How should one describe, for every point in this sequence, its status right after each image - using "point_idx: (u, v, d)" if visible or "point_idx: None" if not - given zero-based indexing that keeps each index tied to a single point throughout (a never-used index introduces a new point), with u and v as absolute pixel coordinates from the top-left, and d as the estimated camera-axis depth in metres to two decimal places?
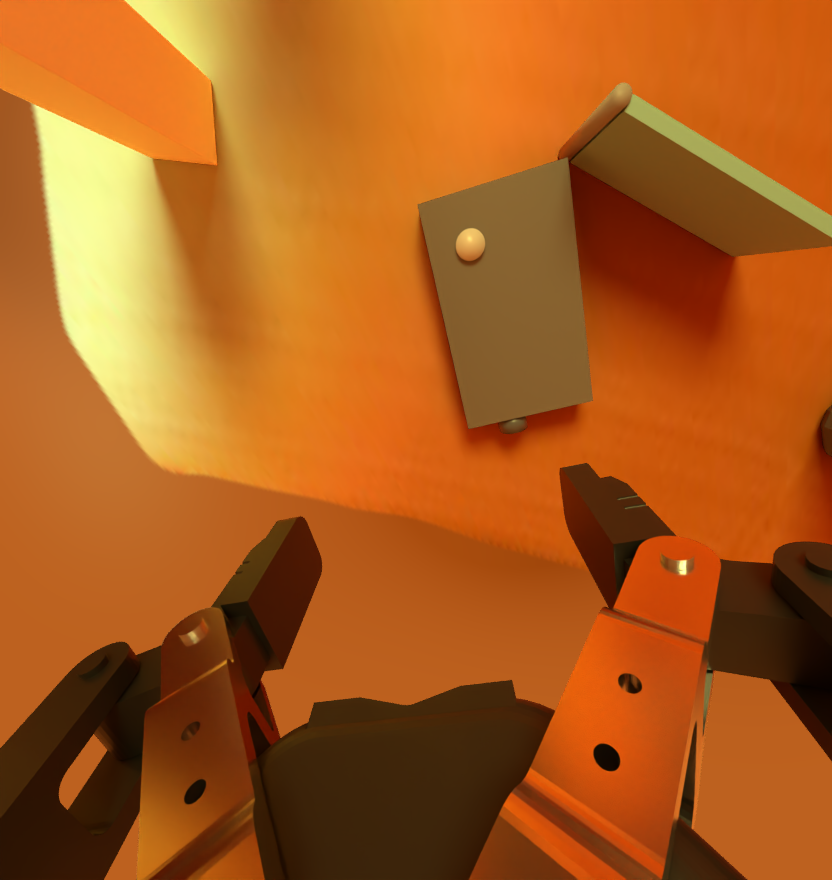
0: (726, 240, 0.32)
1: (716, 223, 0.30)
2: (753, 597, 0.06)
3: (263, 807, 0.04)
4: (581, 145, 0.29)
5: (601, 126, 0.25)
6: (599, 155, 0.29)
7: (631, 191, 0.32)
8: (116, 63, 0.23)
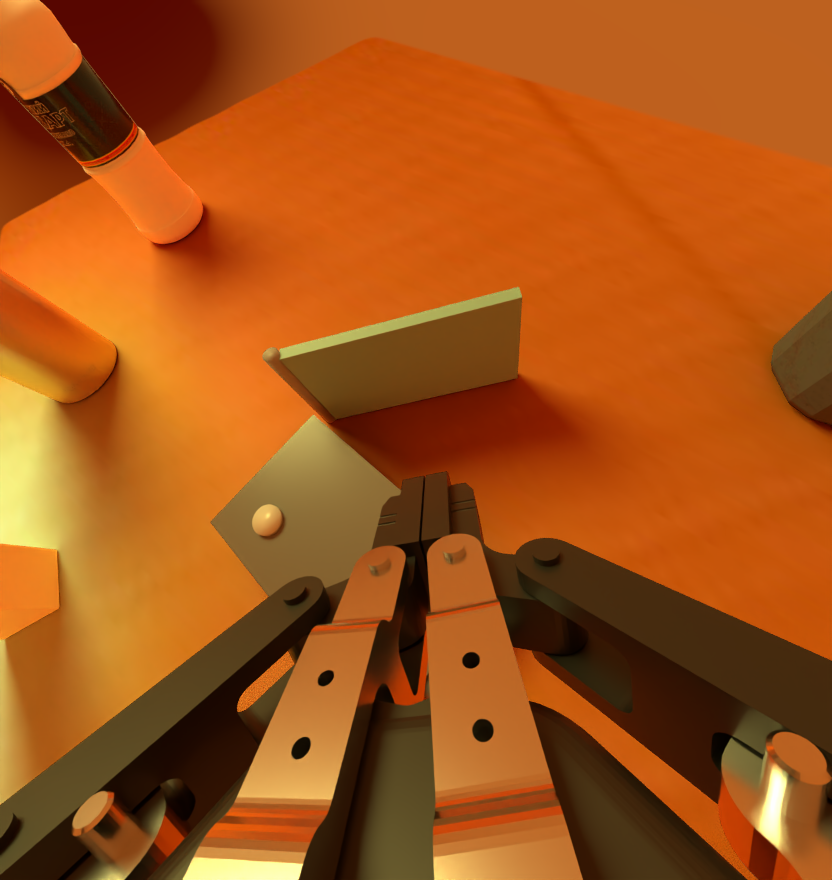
0: (487, 371, 0.32)
1: (457, 367, 0.31)
2: (501, 582, 0.08)
3: (338, 819, 0.04)
4: (314, 402, 0.33)
5: (293, 379, 0.29)
6: (332, 397, 0.32)
7: (389, 400, 0.34)
8: None
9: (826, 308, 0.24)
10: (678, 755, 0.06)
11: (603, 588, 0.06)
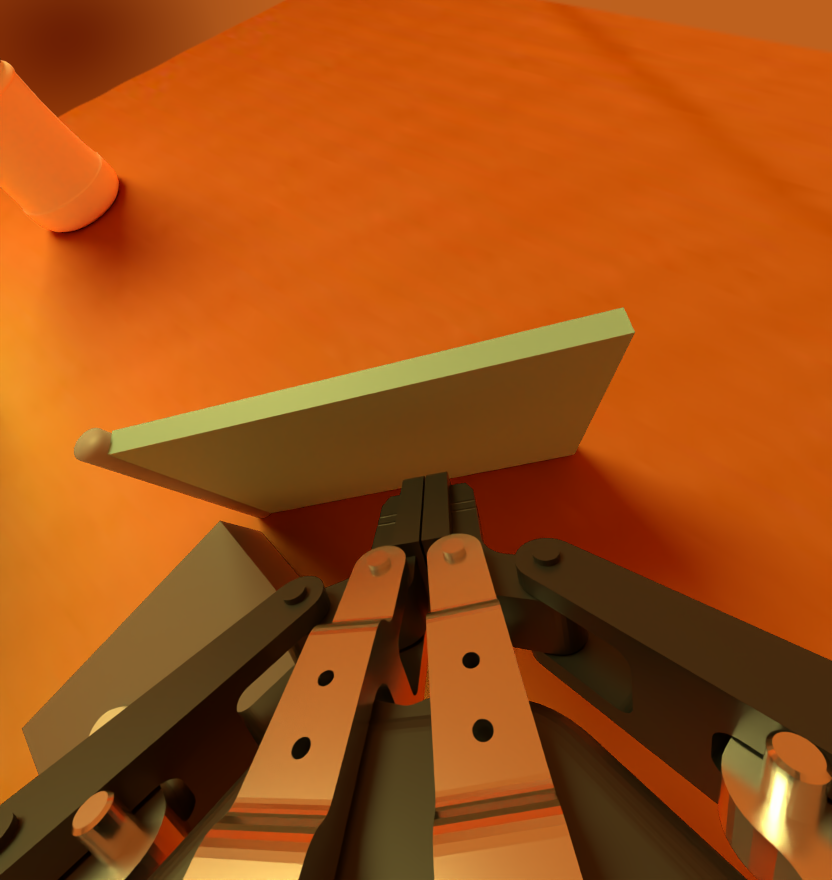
0: (526, 449, 0.18)
1: (473, 447, 0.17)
2: (501, 582, 0.08)
3: (338, 819, 0.04)
4: (220, 500, 0.18)
5: (159, 479, 0.15)
6: (252, 493, 0.18)
7: (355, 490, 0.20)
8: None
9: None
10: (678, 755, 0.06)
11: (603, 588, 0.06)
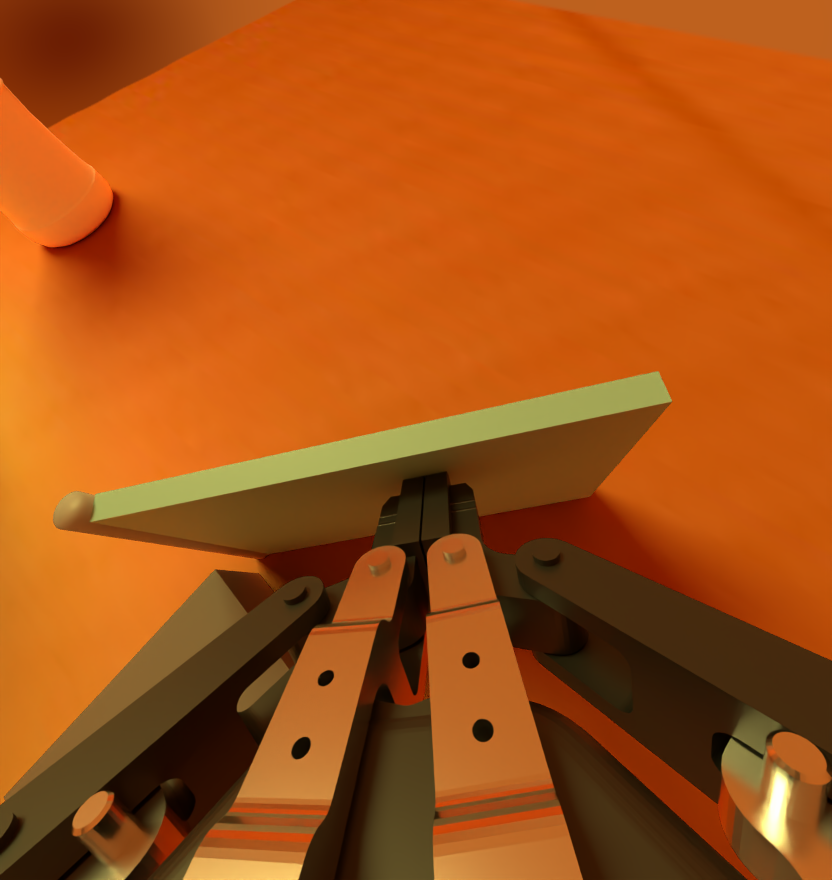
0: (540, 495, 0.17)
1: (484, 497, 0.16)
2: (501, 582, 0.08)
3: (339, 819, 0.04)
4: (215, 548, 0.17)
5: (148, 537, 0.14)
6: (249, 541, 0.17)
7: (358, 533, 0.19)
8: None
9: None
10: (678, 755, 0.06)
11: (603, 588, 0.06)
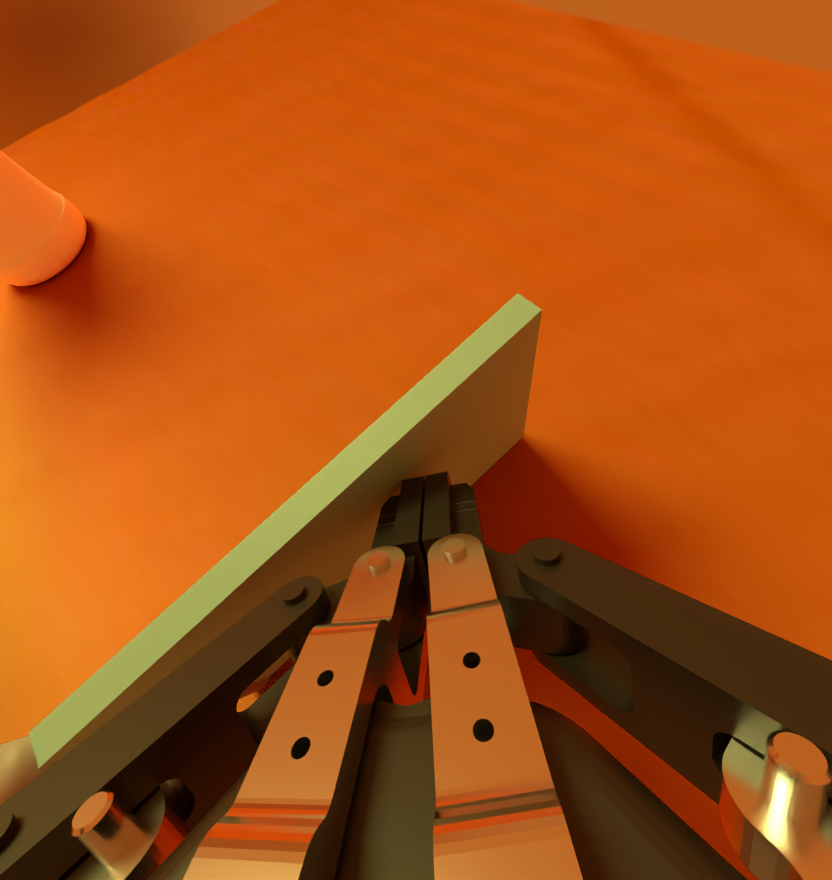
0: (486, 457, 0.18)
1: None
2: (501, 582, 0.08)
3: (338, 819, 0.04)
4: None
5: None
6: None
7: None
8: None
9: None
10: (679, 755, 0.06)
11: (604, 588, 0.06)
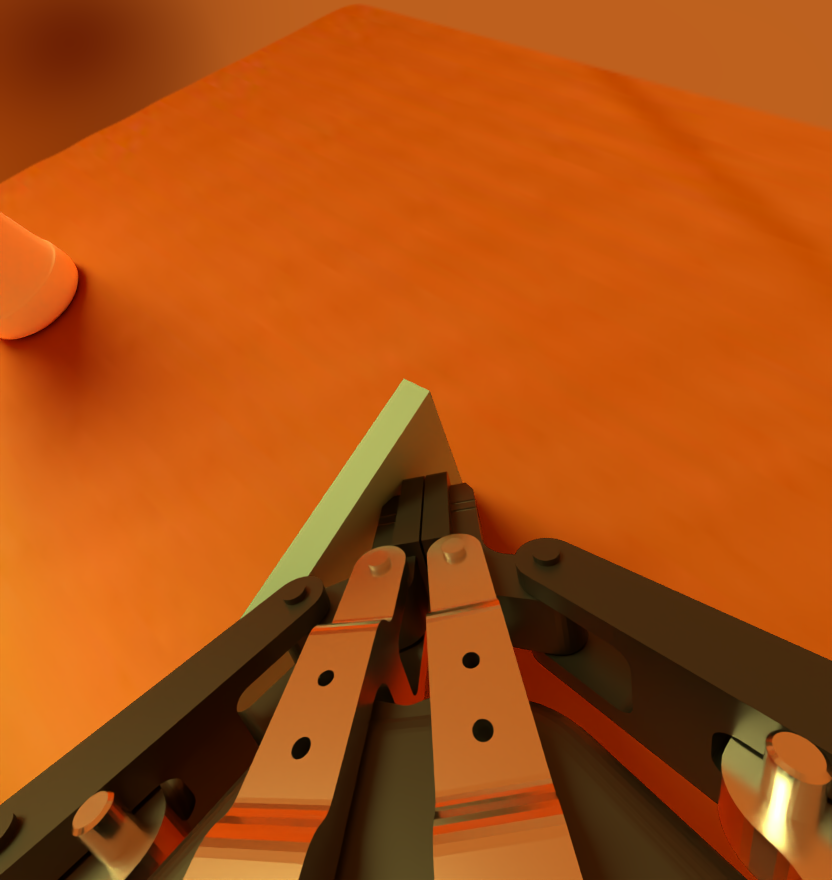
0: None
1: None
2: (501, 582, 0.08)
3: (339, 819, 0.04)
4: None
5: None
6: None
7: None
8: None
9: None
10: (678, 755, 0.06)
11: (603, 588, 0.06)
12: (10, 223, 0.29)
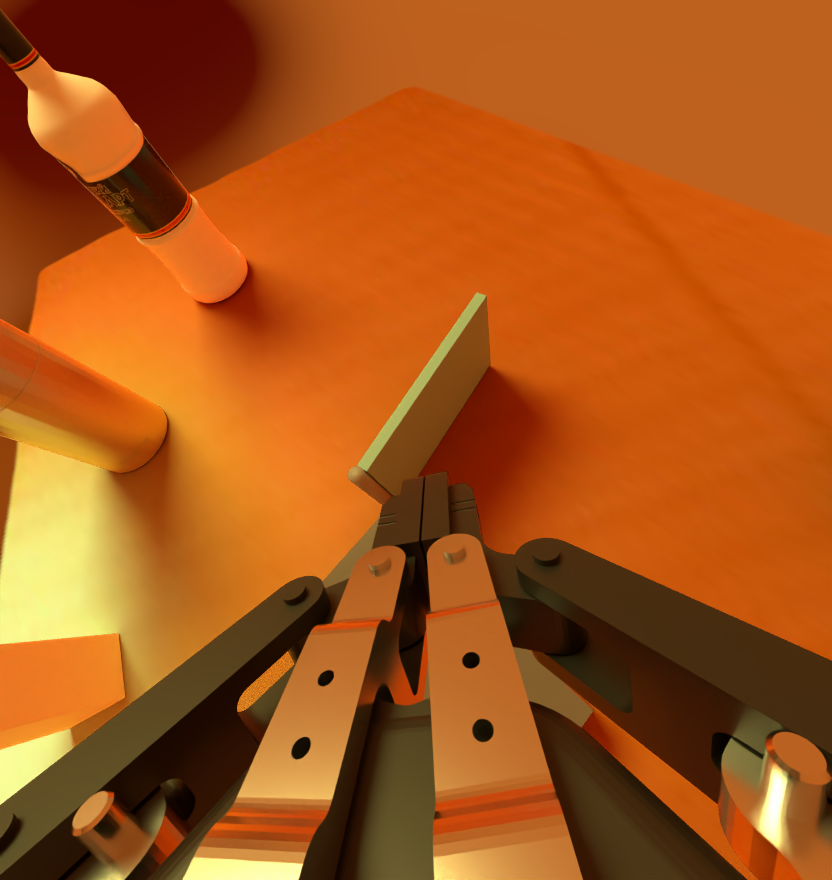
0: (476, 372, 0.37)
1: (462, 383, 0.35)
2: (501, 582, 0.08)
3: (338, 819, 0.04)
4: (388, 496, 0.33)
5: (375, 485, 0.29)
6: (398, 480, 0.33)
7: (430, 450, 0.36)
8: None
9: None
10: (678, 755, 0.06)
11: (603, 588, 0.06)
12: (220, 233, 0.50)
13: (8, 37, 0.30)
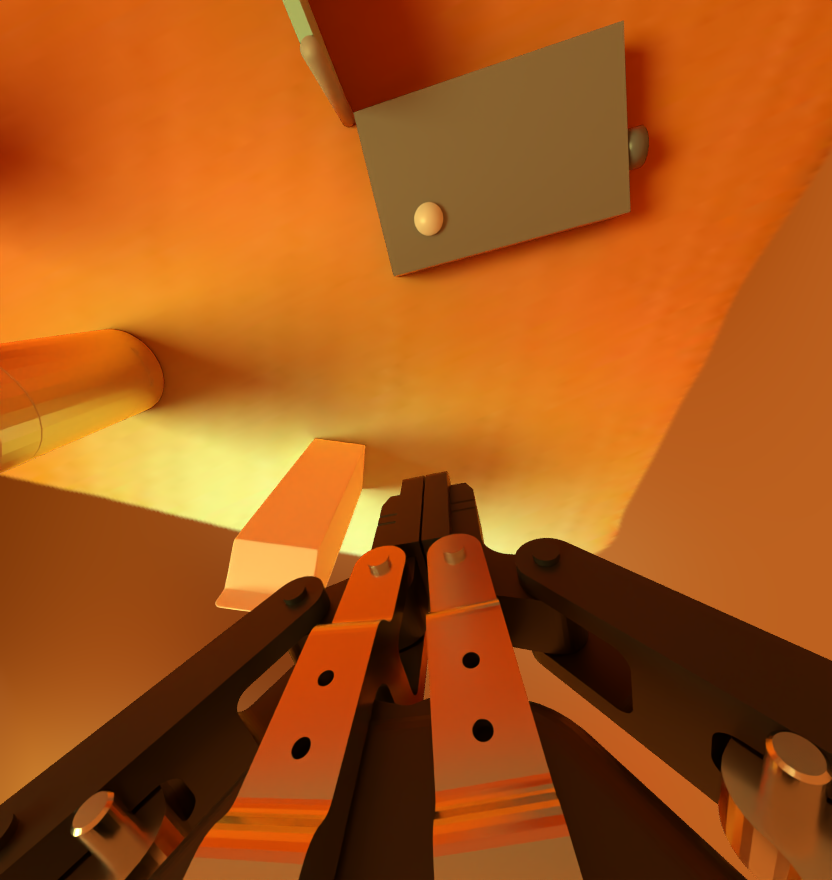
0: None
1: None
2: (501, 582, 0.08)
3: (338, 819, 0.04)
4: None
5: None
6: (330, 65, 0.28)
7: (313, 16, 0.29)
8: (317, 489, 0.34)
9: None
10: (678, 755, 0.06)
11: (603, 588, 0.06)
12: None
13: None
